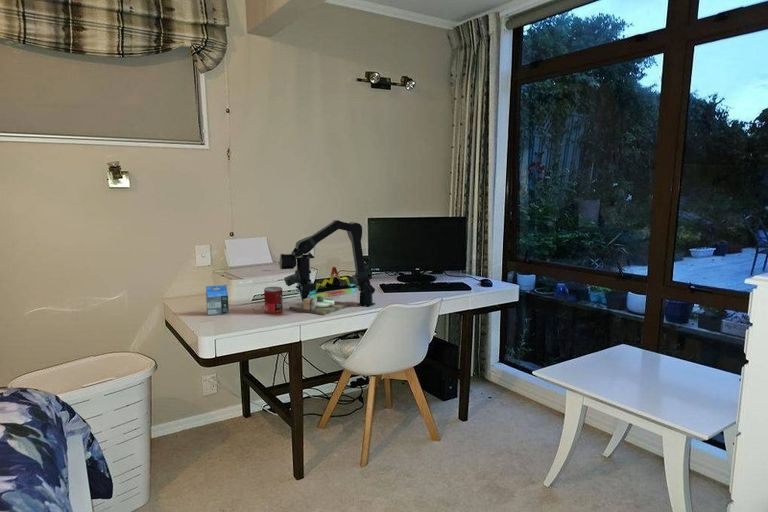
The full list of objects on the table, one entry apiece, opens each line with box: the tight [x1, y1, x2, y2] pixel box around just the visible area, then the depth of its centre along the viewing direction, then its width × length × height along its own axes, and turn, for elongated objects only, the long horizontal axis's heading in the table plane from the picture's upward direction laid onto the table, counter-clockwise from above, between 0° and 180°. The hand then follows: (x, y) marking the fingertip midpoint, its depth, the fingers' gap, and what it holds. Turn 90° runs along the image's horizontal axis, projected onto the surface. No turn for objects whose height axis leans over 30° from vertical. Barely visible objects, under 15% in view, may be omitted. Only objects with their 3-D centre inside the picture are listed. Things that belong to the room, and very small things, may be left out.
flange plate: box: [302, 296, 335, 310], centre depth 221 cm, size 18×13×4 cm
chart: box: [307, 266, 356, 298], centre depth 248 cm, size 30×3×15 cm, turn 132°
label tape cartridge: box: [205, 284, 230, 316], centre depth 211 cm, size 9×4×12 cm, turn 114°
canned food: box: [263, 286, 284, 315], centre depth 214 cm, size 8×8×11 cm
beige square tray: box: [288, 299, 351, 316], centre depth 224 cm, size 20×20×6 cm
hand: (303, 302), depth 218 cm, fingers closed
